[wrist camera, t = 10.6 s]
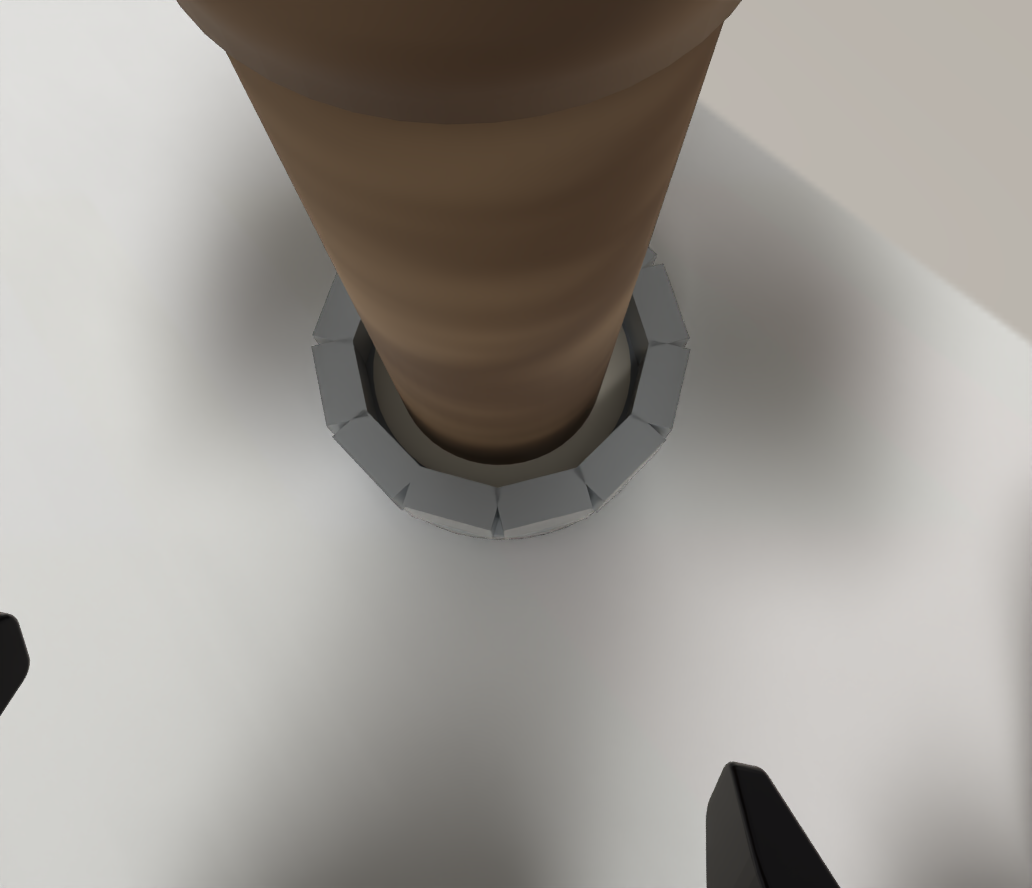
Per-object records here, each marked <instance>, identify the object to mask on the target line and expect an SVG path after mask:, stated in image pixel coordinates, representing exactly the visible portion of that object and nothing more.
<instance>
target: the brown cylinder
mask: <svg viewBox="0 0 1032 888" xmlns="http://www.w3.org/2000/svg"><path fill="white" fill-rule="evenodd" d="M741 1H742V0H177V2H178V4H179V5H180V7H181V8H182V9H183V10H184V11H185V12H186V13H187V14H188V16H189V17H190V18H191V19H192V20H193V21H194V22H195V23H196V25H197V26H198V27H199V28H200V29H201V30H202V31H203V32H204V34H206V35H207V36H208V37H209V38H210V39H212V40H213V41H214V42H215V43H216V44H218V45H219V46H220V47H221V48H222V49H224V50H225V51H226V53H227V55H228V57H229V59H230V61H231V63H232V65H233V67H234V69H235V71H236V73H237V75H238V77H239V79H240V81H241V83H242V85H243V87H244V89H245V91H246V93H247V95H248V97H249V99H250V101H251V103H252V104H253V106H254V108H255V110H256V112H257V114H258V116H259V118H260V120H261V122H262V124H263V126H264V128H265V130H266V132H267V134H268V136H269V138H270V140H271V142H272V144H273V146H274V148H275V150H276V152H277V154H278V156H279V158H280V160H281V162H282V164H283V166H284V168H285V170H286V172H287V174H288V176H289V178H290V180H291V182H292V184H293V186H294V188H295V190H296V192H297V194H298V195H299V197H300V199H301V201H302V203H303V205H304V207H305V209H306V211H307V213H308V215H309V217H310V219H311V221H312V223H313V225H314V227H315V229H316V231H317V233H318V235H319V237H320V239H321V241H322V243H323V245H324V247H325V249H326V251H327V253H328V255H329V257H330V259H331V261H332V263H333V265H334V267H335V269H336V271H337V273H338V275H339V277H340V279H341V281H342V283H343V285H344V287H345V288H346V290H347V292H348V294H349V296H350V298H351V300H352V302H353V304H354V306H355V308H356V310H357V312H358V314H359V316H360V318H361V320H362V322H363V324H364V326H365V328H366V330H367V332H368V334H369V336H370V338H371V340H372V342H373V344H374V346H375V348H376V350H377V352H378V354H379V356H380V358H381V360H382V362H383V364H384V366H385V368H386V370H387V372H388V374H389V376H390V378H391V379H392V381H393V383H394V385H395V387H396V389H397V391H398V393H399V395H400V397H401V399H402V401H403V403H404V405H405V407H406V409H407V411H408V413H409V415H410V416H411V418H412V419H413V421H414V423H415V424H416V425H417V426H418V428H419V429H420V430H421V431H422V432H423V434H424V435H426V436H427V437H428V438H429V439H430V440H431V441H432V442H433V443H435V444H436V445H438V446H439V447H440V448H442V449H443V450H445V451H447V452H449V453H451V454H453V455H455V456H457V457H460V458H462V459H465V460H468V461H472V462H476V463H481V464H490V465H511V464H517V463H523V462H527V461H530V460H533V459H536V458H539V457H541V456H543V455H546V454H548V453H550V452H552V451H553V450H555V449H557V448H558V447H560V446H561V445H563V444H564V443H565V442H566V441H568V440H569V439H570V438H571V437H572V436H573V435H574V434H575V433H576V432H577V431H578V430H579V429H580V428H581V427H582V425H583V424H584V422H585V421H586V420H587V418H588V417H589V415H590V413H591V411H592V409H593V407H594V405H595V403H596V400H597V397H598V394H599V391H600V388H601V385H602V382H603V379H604V377H605V374H606V371H607V368H608V365H609V362H610V359H611V356H612V353H613V350H614V347H615V344H616V341H617V338H618V335H619V332H620V329H621V326H622V323H623V320H624V317H625V314H626V311H627V308H628V305H629V302H630V299H631V296H632V293H633V290H634V287H635V284H636V281H637V278H638V275H639V272H640V269H641V266H642V263H643V260H644V257H645V255H646V252H647V249H648V246H649V243H650V240H651V237H652V234H653V231H654V228H655V225H656V222H657V219H658V216H659V213H660V210H661V207H662V204H663V201H664V198H665V195H666V192H667V189H668V186H669V183H670V180H671V177H672V174H673V171H674V168H675V165H676V162H677V159H678V156H679V153H680V150H681V147H682V144H683V141H684V138H685V136H686V133H687V130H688V127H689V124H690V121H691V118H692V115H693V112H694V109H695V106H696V103H697V100H698V97H699V94H700V91H701V88H702V85H703V82H704V79H705V76H706V73H707V70H708V67H709V64H710V61H711V58H712V55H713V52H714V49H715V46H716V43H717V40H718V37H719V34H720V31H721V28H722V25H723V22H724V21H725V19H726V18H728V17H729V16H730V15H731V13H732V12H733V11H734V10H735V8H736V7H737V6H738V4H739V3H740V2H741Z"/></svg>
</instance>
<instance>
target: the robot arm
mask: <svg viewBox="0 0 1032 888" xmlns="http://www.w3.org/2000/svg"><path fill="white" fill-rule="evenodd" d="M29 666H30V658H29V654H28V651H27V648H26V645H25V641H24V638H23V635H22V632H21V628H20V625H19V622H18V620H17V619H16V618H15V617H14V616H13V615H11V614H8V613H3V612H0V716H1V714H2V713H3V711H4V710H5V708H6V706H7V705H8V703H9V702H10V700H11V699H12V697H13V696H14V694H15V693H16V691H17V690H18V688H19V687H20V685H21V684H22V682H23V681H24V679H25V677H26V675H27V673H28V670H29ZM706 879H707V888H840V886H839V885H838V883H837V882H836V880H835V879H834V877H833V876H832V874H831V872H830V871H829V869H828V868H827V866H826V865H825V863H824V862H823V860H822V858H821V857H820V855H819V854H818V852H817V851H816V849H815V848H814V846H813V844H812V843H811V841H810V840H809V838H808V837H807V835H806V834H805V832H804V830H803V829H802V827H801V826H800V824H799V823H798V821H797V820H796V818H795V816H794V815H793V813H792V812H791V810H790V809H789V807H788V806H787V804H786V802H785V801H784V799H783V798H782V796H781V795H780V793H779V792H778V790H777V788H776V787H775V785H774V784H773V782H772V781H771V779H770V778H769V776H768V775H767V773H766V772H765V771H764V770H763V769H761V768H759V767H757V766H752V765H748V764H743V763H738V762H729V763H727V764H726V765H725V767H724V768H723V770H722V773H721V775H720V777H719V779H718V782H717V784H716V786H715V788H714V791H713V793H712V795H711V798H710V800H709V803H708V807H707V813H706Z"/></svg>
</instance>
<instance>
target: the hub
mask: <svg viewBox="0 0 1032 888" xmlns="http://www.w3.org/2000/svg"><path fill="white" fill-rule="evenodd" d="M656 256H657V254H656V253H655V252H654V251H652V250H651V249H650V248H649V247H648V249H647V252H646V255H645V257H644V260H643V263H642V266H641V269H640V272H639V275H638V278H637V281H636V284H635V287H634V290H633V293H632V296H631V299H630V302H629V305H628V308H627V311H626V314H625V317H624V320H623V323H622V326H621V329H620V332H619V335H618V338H617V341H616V344H615V347H614V350H613V353H612V356H611V359H610V362H609V365H608V368H607V371H606V374H605V377H604V379H603V382H602V385H601V388H600V391H599V394H598V397H597V400H596V403H595V405H594V407H593V409H592V411H591V413H590V415H589V417H588V418H587V420H586V421H585V422H584V424H583V425H582V427H581V428H580V429H579V430H578V431H577V432H576V433H575V434H574V435H573V436H572V437H571V438H570V439H569V440H568V441H566V442H565V443H564V444H563V445H561V446H560V447H558V448H557V449H555V450H553V451H552V452H550V453H548V454H546V455H543V456H541V457H539V458H536V459H533V460H530V461H527V462H523V463H517V464H511V465H490V464H481V463H476V462H472V461H468V460H465V459H462V458H460V457H457V456H455V455H453V454H451V453H449V452H447V451H445V450H443V449H442V448H440V447H439V446H438V445H436V444H435V443H433V442H432V441H431V440H430V439H429V438H428V437H427V436H426V435H424V434H423V432H422V431H421V430H420V429H419V428H418V426H417V425H416V424H415V423H414V421H413V419H412V418H411V416H410V415H409V413H408V411H407V409H406V407H405V405H404V403H403V401H402V399H401V397H400V395H399V393H398V391H397V389H396V387H395V385H394V383H393V381H392V379H391V378H390V376H389V374H388V372H387V370H386V368H385V366H384V364H383V362H382V360H381V358H380V356H379V354H378V352H377V350H376V348H375V346H374V344H373V342H372V340H371V338H370V336H369V334H368V332H367V330H366V328H365V326H364V324H363V322H362V320H361V318H360V316H359V314H358V312H357V310H356V308H355V306H354V304H353V302H352V300H351V298H350V296H349V294H348V292H347V290H346V288H345V287H344V285H343V283H342V281H341V279H340V277H339V275H338V273H336V276H335V278H334V281H333V284H332V286H331V289H330V291H329V294H328V296H327V299H326V302H325V304H324V307H323V309H322V312H321V314H320V317H319V320H318V322H317V325H316V327H315V330H314V333H313V336H314V338H315V339H316V341H317V342H318V344H319V345H315V346H311V347H312V352H313V357H314V363H315V368H316V373H317V378H318V384H319V389H320V394H321V399H322V405H323V410H324V415H325V420H326V425H327V427H328V428H329V429H330V430H331V431H332V432H333V433H334V434H335V435H333V436H332V437H333V438H334V439H335V440H336V441H337V443H338V444H339V445H340V446H341V447H342V448H343V449H344V450H345V451H346V452H347V453H348V454H349V455H350V456H351V457H352V458H353V459H354V461H355V462H356V463H357V464H358V465H359V466H360V467H361V468H362V469H363V470H364V471H365V472H366V473H367V474H368V475H369V476H370V477H371V479H372V480H373V481H374V482H375V483H376V484H377V485H378V486H379V487H380V488H381V489H382V490H383V491H384V492H385V493H386V494H387V496H388V497H389V498H390V499H391V500H392V501H393V502H394V503H395V504H396V505H397V506H398V507H399V508H400V509H401V510H403V509H404V508H405V510H406V511H407V512H408V513H409V514H410V515H411V516H412V517H415V518H419V519H422V520H424V521H426V522H428V523H430V524H432V525H434V526H436V527H439V528H442V529H445V530H447V531H450V532H453V533H456V534H461V535H465V536H470V537H475V538H483V539H496V540H506V539H523V538H528V537H534V536H539V535H544V534H547V533H550V532H553V531H557V530H560V529H563V528H566V527H568V526H570V525H572V524H574V523H576V522H578V521H580V520H583V519H587V517H588V516H589V515H591V514H592V513H594V512H595V511H596V512H598V511H599V510H600V509H601V508H602V507H603V506H604V505H605V504H607V503H608V502H609V501H610V500H611V499H612V498H613V497H615V496H616V495H617V494H618V493H619V492H620V491H621V490H622V489H623V488H624V487H625V485H626V484H627V483H628V482H629V481H630V480H631V479H632V477H633V476H634V475H635V474H636V473H637V472H638V471H639V470H640V469H641V468H642V467H643V466H644V465H645V464H646V463H647V462H648V461H649V460H650V459H651V458H652V457H653V456H654V455H655V454H656V452H657V451H658V450H659V448H660V447H661V446H662V444H663V443H664V442H665V440H666V439H665V438H666V436H667V435H668V434H669V432H670V431H671V430H672V427H673V422H674V418H675V413H676V409H677V405H678V400H679V396H680V392H681V387H682V383H683V378H684V374H685V370H686V365H687V361H688V357H689V352H690V349H686V348H684V347H685V345H686V343H687V341H688V340H689V335H688V332H687V330H686V327H685V324H684V321H683V318H682V315H681V313H680V310H679V307H678V304H677V301H676V298H675V295H674V293H673V290H672V287H671V284H670V281H669V278H668V275H667V273H666V270H665V267H664V264H660V265H655V266H653V264H654V261H655V258H656Z"/></svg>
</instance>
